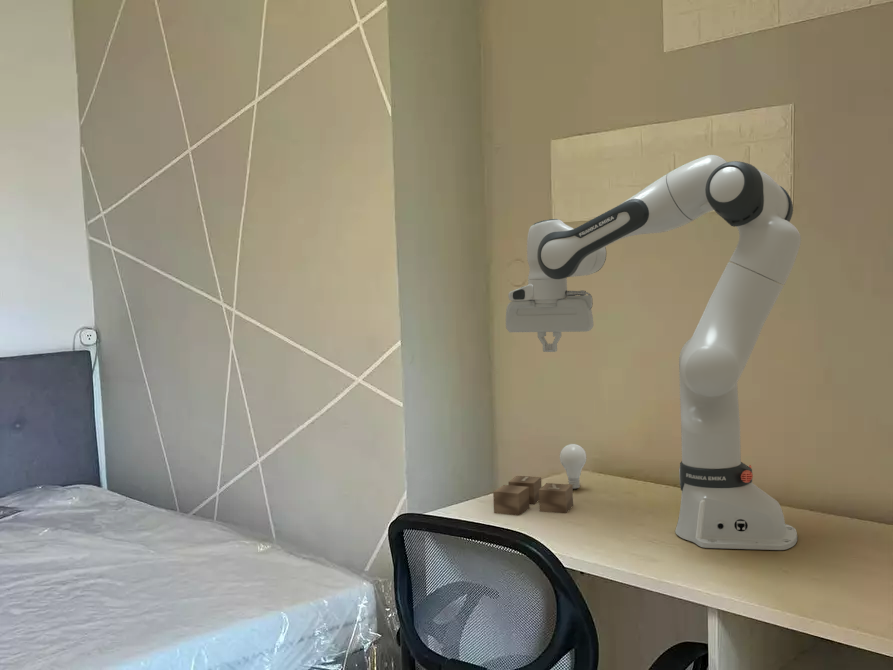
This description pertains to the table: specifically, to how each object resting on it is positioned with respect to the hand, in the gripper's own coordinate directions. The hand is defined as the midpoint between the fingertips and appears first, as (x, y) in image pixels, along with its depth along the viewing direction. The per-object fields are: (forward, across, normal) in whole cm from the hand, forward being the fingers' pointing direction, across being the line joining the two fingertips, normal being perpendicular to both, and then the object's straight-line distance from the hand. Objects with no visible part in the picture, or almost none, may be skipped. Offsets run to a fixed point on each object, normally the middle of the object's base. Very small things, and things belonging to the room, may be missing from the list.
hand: (550, 351), depth 203 cm
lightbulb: (+34, -2, -8) cm, 35 cm away
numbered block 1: (+34, +6, +4) cm, 35 cm away
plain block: (+34, +6, +13) cm, 37 cm away
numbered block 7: (+34, -3, +9) cm, 36 cm away
